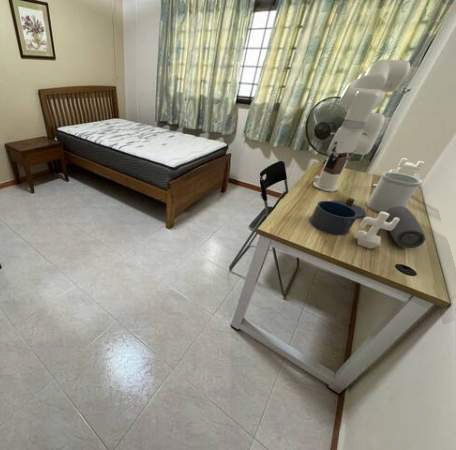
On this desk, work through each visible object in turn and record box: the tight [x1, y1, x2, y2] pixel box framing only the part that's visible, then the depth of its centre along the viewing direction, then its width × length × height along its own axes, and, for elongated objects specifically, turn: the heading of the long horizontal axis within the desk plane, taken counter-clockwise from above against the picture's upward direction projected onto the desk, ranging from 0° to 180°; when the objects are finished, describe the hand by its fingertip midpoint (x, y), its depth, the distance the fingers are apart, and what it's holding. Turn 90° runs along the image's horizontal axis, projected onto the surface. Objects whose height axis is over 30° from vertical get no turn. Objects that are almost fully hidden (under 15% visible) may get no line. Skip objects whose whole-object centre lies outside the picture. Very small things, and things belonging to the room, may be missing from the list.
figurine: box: [357, 212, 400, 250], centre depth 95 cm, size 7×9×15 cm
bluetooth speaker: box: [385, 206, 426, 249], centre depth 102 cm, size 23×9×10 cm, turn 150°
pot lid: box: [332, 197, 367, 218], centre depth 121 cm, size 16×16×6 cm
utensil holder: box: [366, 171, 423, 213], centre depth 120 cm, size 15×15×18 cm
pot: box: [309, 200, 358, 236], centre depth 108 cm, size 15×15×8 cm
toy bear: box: [322, 152, 349, 175], centre depth 106 cm, size 5×5×12 cm
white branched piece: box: [372, 157, 425, 187], centre depth 138 cm, size 19×14×20 cm
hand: (333, 167), depth 108 cm, fingers closed on toy bear, 4 cm apart
